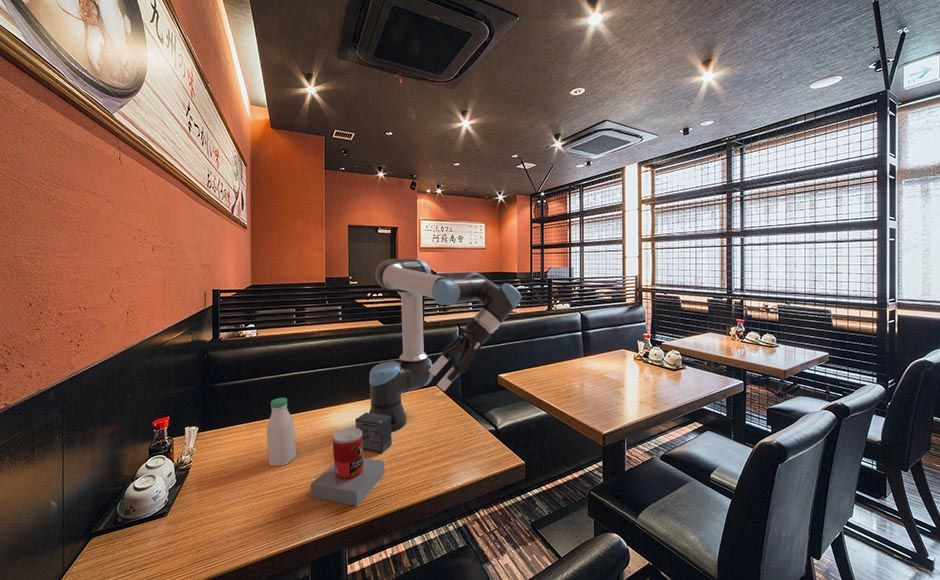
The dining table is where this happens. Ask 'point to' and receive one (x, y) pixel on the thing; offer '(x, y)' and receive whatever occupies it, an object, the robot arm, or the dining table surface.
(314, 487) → the slate stand
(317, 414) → the dining table surface
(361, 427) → the small box
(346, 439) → the canned food
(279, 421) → the milk bottle
